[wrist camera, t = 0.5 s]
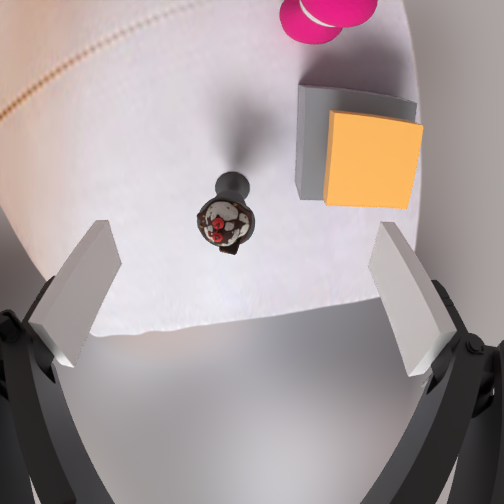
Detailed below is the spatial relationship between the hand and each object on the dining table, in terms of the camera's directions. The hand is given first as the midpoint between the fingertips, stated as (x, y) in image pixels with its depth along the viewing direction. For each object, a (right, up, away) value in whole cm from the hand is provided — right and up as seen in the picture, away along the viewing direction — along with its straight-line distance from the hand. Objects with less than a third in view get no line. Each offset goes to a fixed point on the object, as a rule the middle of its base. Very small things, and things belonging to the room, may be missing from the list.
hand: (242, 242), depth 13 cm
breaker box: (+13, +15, +23) cm, 30 cm away
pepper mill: (+7, +28, +13) cm, 32 cm away
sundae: (-2, +9, +28) cm, 29 cm away
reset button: (+13, +13, +19) cm, 26 cm away
